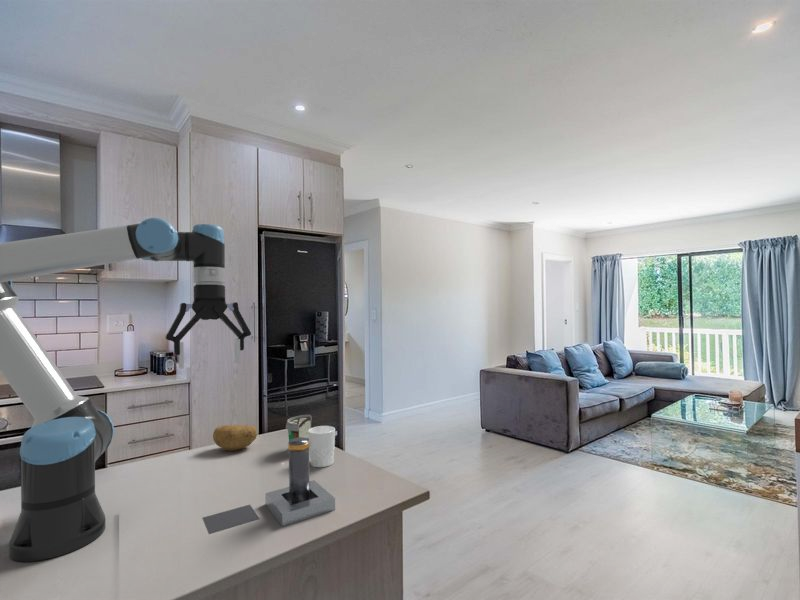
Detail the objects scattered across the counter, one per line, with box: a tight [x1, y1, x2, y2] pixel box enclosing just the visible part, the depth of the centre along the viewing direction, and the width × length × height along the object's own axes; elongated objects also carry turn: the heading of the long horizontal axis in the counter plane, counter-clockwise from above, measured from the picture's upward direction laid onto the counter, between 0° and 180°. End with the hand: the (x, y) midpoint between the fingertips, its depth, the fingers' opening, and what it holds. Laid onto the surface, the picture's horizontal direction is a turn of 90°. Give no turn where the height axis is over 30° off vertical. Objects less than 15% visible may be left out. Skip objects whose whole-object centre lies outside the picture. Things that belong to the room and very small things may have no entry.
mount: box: [202, 504, 260, 535], centre depth 90 cm, size 10×8×1 cm
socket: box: [264, 479, 336, 527], centre depth 94 cm, size 12×12×4 cm
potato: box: [212, 424, 258, 452], centre depth 137 cm, size 10×14×8 cm
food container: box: [285, 414, 313, 441], centre depth 135 cm, size 12×6×10 cm, turn 172°
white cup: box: [308, 425, 336, 468], centre depth 123 cm, size 8×8×10 cm
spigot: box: [287, 437, 310, 505], centre depth 94 cm, size 5×5×16 cm
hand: (210, 365), depth 108 cm, fingers open, 13 cm apart
